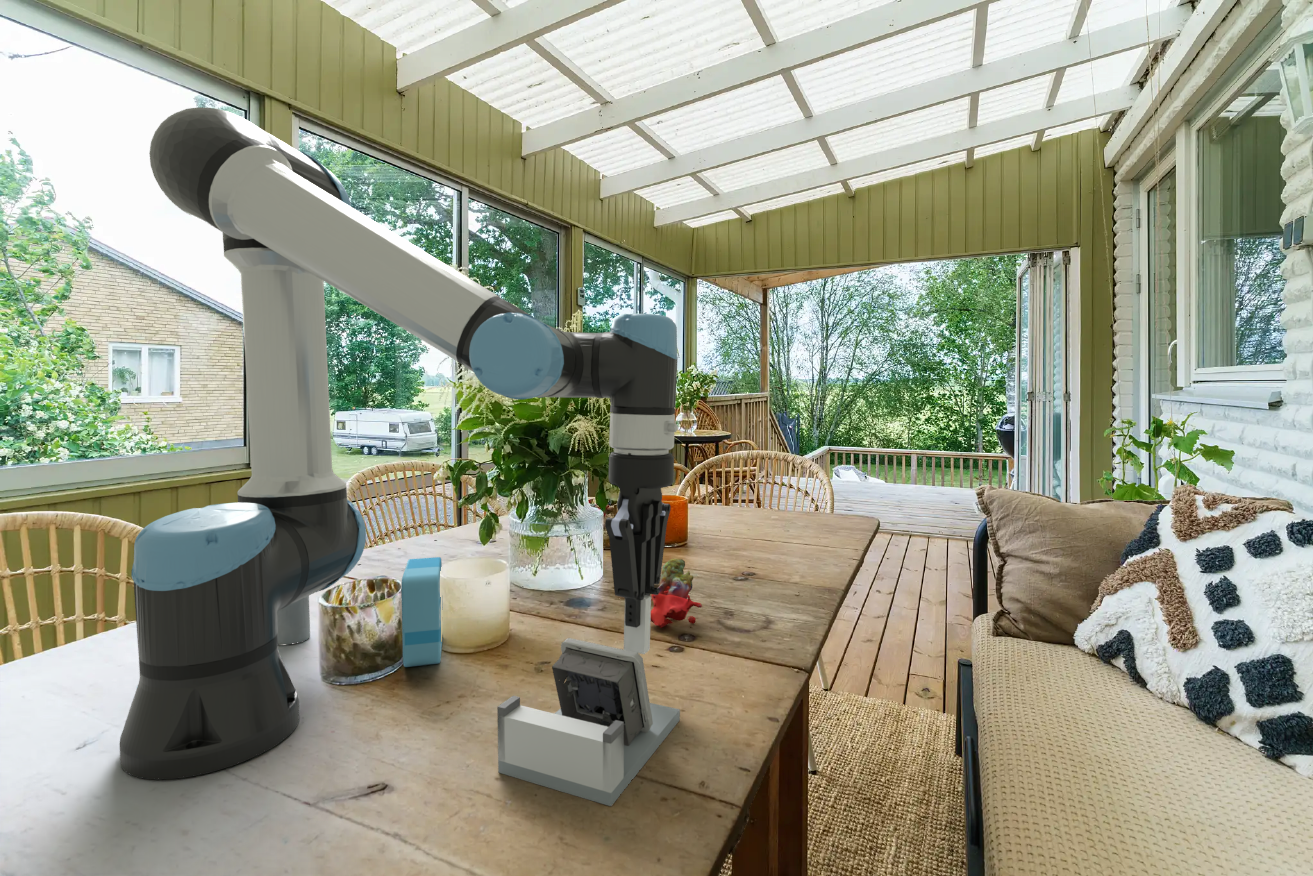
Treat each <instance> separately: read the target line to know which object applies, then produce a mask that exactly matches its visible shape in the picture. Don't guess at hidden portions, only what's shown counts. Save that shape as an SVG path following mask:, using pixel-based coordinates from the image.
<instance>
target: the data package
mask: <svg viewBox="0 0 1313 876" xmlns="http://www.w3.org/2000/svg"><path fill="white" fill-rule="evenodd" d="M405 565H406V566H405V569H404V571H403V575H402V578H401V587H400V589H401V593H400V594H401V597H400V598H401V629H402V630H401V632H402V633H401V634H402V664H403V667H405V668H411V667H418V666H427V665H429V666H430V665H436V664H437V665H438V664H440V663H441V659H442V648H443V647H442V646H443V641H442V642H441V597H440V571H441V567H442V566H443V565H442V557H440V556H437V557H436V556H435V557H423V558H421V557H420V558H409V559H408V560H407V562H406V564H405ZM442 568H443V567H442Z"/></svg>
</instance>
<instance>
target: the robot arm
mask: <svg viewBox="0 0 1313 876" xmlns="http://www.w3.org/2000/svg"><path fill="white" fill-rule="evenodd" d="M149 162H150V168H151V171H152V174H153V177H154V179H155V181H156V183H157V184H158V186H159V188H160V190H161V191H162V192H163V193H164V195H165V197H166V198H167V199H168V200H169V201H171V203H172V204H174V205H175V206H176V207H177V208H179V210H181V211H182V212H184V213H186V214H187V215H189V216H191V217H193V218H195V219H197V220H200V221H201V222H204V223H206V224H208V225H210V226H212V227H213V228H214V229H216V230H218V231H220V232H222V242H223V257H224V259H225V260H227V262H229V263H230V264H231V265H232V266H234V268H235V269H236V270H237V272H239V274H240V284H241V287H240V288H241V303H242V319H243V320H242V321H243V322H242V323H243V339H244V342H243V343H244V356H245V357H244V358H245V375H246V376H245V377H246V394H247V410H248V411H247V412H248V413H247V414H248V429H249V450H250V451H249V452H250V468H251V469H250V470H251V476H250V478H249V480H247V482H246V483H244V484H243V485H242V487H240V488H239V489H238V491H237V502H228V503H226V502H225V503H216V504H215V503H214V504H210V505H206V506H204V507H200V508H199V507H198V508H196V507H193V508H189V509H184V510H181V511H177V512H175V513H171V514H168V515H165V516H163V517H160V518H158V519H156V520H154V521H152V522H150V523H149V524H147V525H145V527H144V528H142V529H141V530H140V531H139V532H138V534H137V536H136V538H135V541H134V547H133V552H134V553H133V563H132V569H131V578H132V580H133V592H134V593H133V594H134V607H135V619H136V621H135V622H136V637H137V651H138V663H139V664H138V665H139V666H138V667H139V669H138V670H139V680H138V683H137V686H136V689H135V694H134V696H133V699H132V702H131V705H130V707H129V711H128V714H127V716H126V719H125V723H124V726H123V729H122V730H121V734H120V737H119V759H120V761H119V762H120V766H121V768H122V770H123V771H124V773H126V774H129V775H131V776H133V777H135V778H139V779H144V780H145V779H146V780H171V779H173V780H174V779H183V778H190V777H195V776H200V775H204V774H208V773H209V774H210V773H212V772H213V773H214V772H216V771H220V770H223V769H226V768H227V769H228V768H229V767H232V766H235V765H238V764H241V763H243V762H246V761H248V760H251V759H253V758H255V757H257V756H259V755H261V754H264V753H266V752H267V751H269V750H271V749H272V748H274V747H276V746H277V745H279V744H280V743H282V741H284V740H285V739H287V738H288V737H289V736H290V735H291V734H292V733H293V732H294V731H295V729H296V728H297V726H298V725H299V722H300V699H299V695H298V692H297V690H296V688H295V686H294V683H293V681H292V679H291V676H290V674H289V672H288V670H287V668H286V665H285V663H284V661H283V659H282V656H281V654H280V652H279V645H278V629H277V611H278V610H280V609H282V608H284V607H286V606H288V605H290V604H292V603H295V602H297V601H299V600H301V599H303V598H305V597H307V596H309V597H310V596H311V595H313V594H315V593H318V592H321V591H324V590H326V589H328V588H330V587H331V586H333V585H334V584H336V583H337V582H338V581H339V580H340V579H342V578H343V577H345V576H346V575H348V574H349V573H350V572H351V571H352V570H353V569H354V568H355V566H356V565H358V562H359V561H360V559H361V557H362V555H363V553H364V550H365V546H366V541H367V530H366V529H367V528H366V524H365V520H364V517H363V515H362V514H361V511H360V510H358V509H356V508H355V504H354V503H353V502H351V500H349V499H348V493H347V492H348V490H347V487H348V486H347V483H346V482H345V481H344V480H343V479H342V478H341V477H339V476H338V475H336V473H334V470H333V459H332V458H333V456H332V436H331V418H330V416H331V413H330V395H329V393H330V392H329V372H328V367H329V366H328V349H327V330H326V329H327V327H326V326H327V325H326V308H325V307H326V305H325V302H326V301H325V284H324V282H325V283H327V284H328V285H330V286H331V287H333V288H335V289H337V290H338V291H340V292H341V293H343V294H345V295H346V296H348V297H350V298H352V299H353V300H355V301H356V302H358V303H360V304H362V305H364V306H365V307H367V308H369V309H370V310H372V311H373V312H374V313H376V314H378V315H380V316H382V317H383V318H385V319H387V320H388V321H390V322H391V323H393V324H395V325H397V326H399V327H400V328H402V330H405V331H406V332H408V333H410V334H412V335H413V336H414V337H416V338H418V339H420V340H421V341H423V342H425V343H426V344H428V345H430V346H431V347H432V348H434V349H436V350H438V351H440V352H441V353H442V354H444V355H446V356H448V357H450V358H451V359H453V360H455V361H456V362H458V363H459V364H461V365H462V366H464V367H465V368H467V369H468V370H469V371H470V372H473V373H474V375H475V377H476V378H477V380H478V381H479V383H481V384H482V385H483V386H484V388H485V389H488V390H489V391H491V392H493V393H495V394H497V395H500V396H503V397H505V398H509V399H514V400H527V399H533V398H591V399H592V398H593V399H595V398H596V399H609V400H610V401H609V402H610V410H609V412H610V413H609V415H610V416H609V417H610V419H609V441H608V443H609V447H610V448H612V449H613V451H612V452H610V454H609V455H608V482H609V483H610V484H611V485H613V486H615V487H618V490H619V492H618V496H617V497H618V499H617V501H616V508H617V509H616V510H617V513H616V515H615V516H614V517H608V516H607V518H605V521H604V525H605V527H604V528H605V529H606V532H607V536H608V540H609V541H608V542H609V550H610V557H611V558H610V559H611V569H612V578H613V579H612V580H613V581H612V582H613V589H614V595H615V597H621V598H624V615H623V616H624V618H623V619H624V620H623V621H624V623H623V650H628V651H632V652H637V653H638V654H639V655H640V654H641V655H646V654H647V653H648V652H649V651H650V648H651V647H650V646H651V645H650V644H651V643H650V642H651V620H650V619H651V610H652V601H651V599H652V597H651V595H652V594H654V595H658V594H659V591H660V588H658V587H655V585H659V584H660V580H661V574H662V570H663V560H664V553H665V551H664V550H665V544H666V536H667V535H666V533H667V527H668V526H667V525H668V520H669V517H670V513H671V508H672V507H671V504H670V503H664V502H663V492H662V489H663V488H668V487H670V486H672V485H673V484H674V479H675V478H674V476H675V475H674V473H675V472H674V470H675V456H673V453H671V452H669V451H670V450H672V449H673V448H674V447H675V433H676V432H677V431H678V430H679V427H678V424H677V423H676V422H675V421H676V419H675V418H676V417H675V416H676V403H677V402H676V400H677V381H678V379H677V378H678V377H677V376H678V334H677V332H678V331H677V330H678V327H677V324H676V323H675V322H674V320H673V319H671V318H670V317H668V316H666V315H661V314H654V313H630V314H629V313H624V314H623V313H622V314H618V315H615V316H614V318H613V319H612V323H611V328H610V330H609V331H604V332H576V331H572V332H571V331H564V330H561V329H558V328H556V327H554V326H551V325H549V324H547V323H544V322H543V321H541V320H540V319H538V318H536V317H535V316H533V315H531V314H529V313H528V312H526V311H525V310H524V309H523V310H522V309H521V308H519V307H517V306H516V305H514V304H513V303H511V302H509V301H507V300H505V299H503V298H502V297H500V296H499V295H497V294H495V293H494V292H492V291H491V290H489V289H488V288H486V287H485V286H482V285H481V284H479V283H478V282H476V281H474V280H473V279H471V278H469V277H467V276H466V275H465V274H463V273H461V272H459V271H458V270H456V269H454V268H453V267H451V266H450V265H448V264H446V263H445V262H443V261H441V260H439V258H436V257H434V256H432V255H431V254H429V253H428V252H427V251H424V250H423V249H421V248H420V247H418V246H417V245H415V244H414V243H411V242H409V241H408V240H406V239H405V238H403V237H401V236H400V235H398V234H396V233H395V232H393V231H391V230H389V229H388V228H386V227H385V226H383V225H381V224H380V223H379V222H376V221H374V220H373V219H371V218H370V217H368V216H366V215H365V214H363V213H362V212H360V211H358V210H356V209H355V208H353V207H352V204H351V200H350V198H349V195H348V193H347V190H346V189H345V187H344V186H343V184H342V183H341V181H340V180H339V178H338V177H337V176H336V175H335V174H334V173H333V172H331V171H330V170H329V169H328V168H327V167H325V165H323V164H322V162H320V161H319V160H317V159H316V158H314V157H313V156H311V155H310V154H307V153H306V152H304V151H301V150H299V149H296V148H294V147H292V146H291V145H289V144H288V143H286V142H284V141H283V140H280V139H279V138H277V137H276V136H274V135H273V134H270V133H269V132H267V131H266V130H264V129H262V128H261V127H259V126H257V125H255V124H254V123H252V122H251V121H249V120H247V119H245V118H244V117H242V116H239V115H237V114H235V113H232V112H230V111H227V110H225V109H219V108H216V107H215V108H214V107H213V108H212V107H204V106H203V107H199V106H198V107H190V108H189V107H188V108H185V109H183V110H180V111H177V112H174V113H172V114H171V115H170V116H168V117H167V118H166V119H164V120H163V121H162V122H161V123H160V124H159V126H158V127H157V129H156V130H155V131H154V134H153V136H152V139H151V140H150V146H149Z"/></svg>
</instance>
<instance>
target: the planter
mask: <svg viewBox="0 0 1313 876" xmlns="http://www.w3.org/2000/svg"><path fill="white" fill-rule="evenodd" d="M310 618H311V617H310V595H309V596H307V597H305V598H303V599H301V600H299V601H297V602H295V603H292V604H290V605H288V606H286V607H284V608H282V609H280V610H278V611H277V629H278V644H292V643H297V642H301V643H303V642H305V641H304V640H306V641H307V640H309V639H310V638H311V621H310V620H311V619H310ZM308 638H309V639H308ZM302 641H303V642H302ZM297 644H298V643H297ZM292 645H293V644H292Z"/></svg>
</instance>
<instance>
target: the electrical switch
mask: <svg viewBox="0 0 1313 876" xmlns="http://www.w3.org/2000/svg"><path fill="white" fill-rule="evenodd" d="M560 650H561V651H560V652H561V654H560V656H559V658H558V659H557V661H555V663H554V664H553V665H552V666H551V667H552V674H553V679H554V683H555V688H556V692H557V697H558V702H559V706H560V708H561V712H562V716H566V717H570V718H574V719H579V720H583V721H587V722H591V723H595V724H599V725H601V723H602V721H606V722H609V724H608V725H607V727H609V726H610V725H611V724H612V723H613V722H614V721H615V720H618V721H622V722H624V745H626V746H629V745H630V744H631V742H632V740H633V739H634V737H635V736H636V735H638V733H639V731H641V732H645V733H647V732H648V731H649V730H650V728H651V726H652V724H653V720H652V714H651V708H650V703H651V702H650V695H649V690H648V684H647V683H648V682H647V677H646V676H647V675H646V671H645V664H644V658H643V657H642V656H641V655H640V653H637V652H632V651H628V650H624V648H623V649H622V648H619V647H613V646H608V645H603V644H599V643H595V642H589V641H585V640H580V639H576V638H570V637H568V638H566V639H565V640H564V641H562V642H561V645H560Z"/></svg>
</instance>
